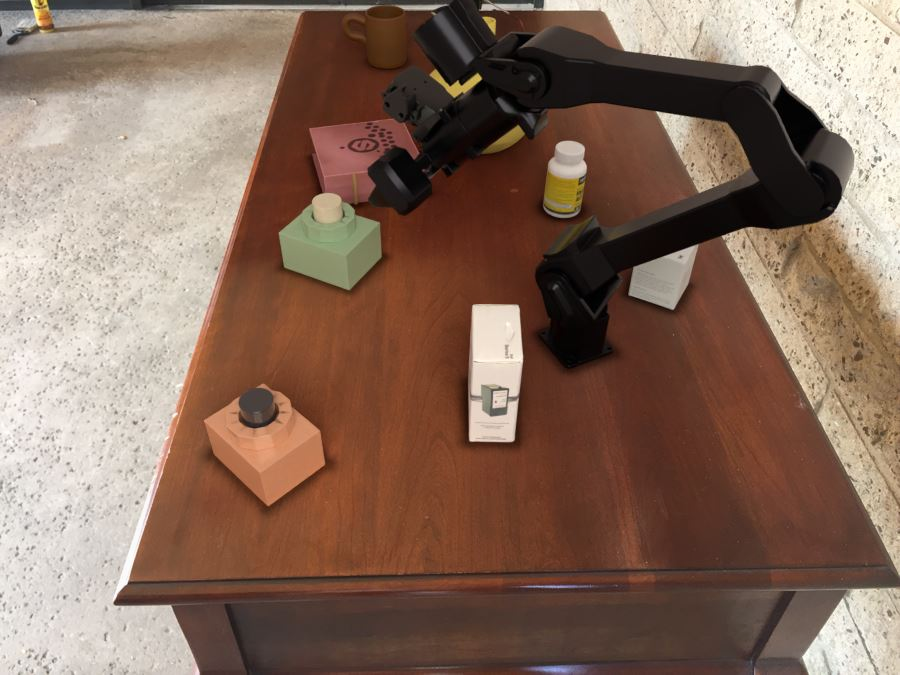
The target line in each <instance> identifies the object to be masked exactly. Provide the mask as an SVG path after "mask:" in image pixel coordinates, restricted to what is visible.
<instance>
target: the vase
mask: <svg viewBox="0 0 900 675" xmlns="http://www.w3.org/2000/svg"><path fill="white" fill-rule="evenodd" d="M482 18H483V19H484V20H485V22H486V23H487V25H488V26H489V27H490V29H491V30H492V32H493V33H494V35H495V36H496V28H497V27H496V26H497V20H496V18H494V17H491V16H482ZM429 75H430V76H431V77H432V78H434V79H435V80H436V81H438V82H439V83H440V84H441V85H443V86H444V87H445V89H446V91H447V92H449V93H450V94H451V95H452V96H453V97H454V98H455V97H456V96H457V95H459V94H460V93H461V92H463V93H465V92H467V91H468V90H469V89H470V88H472V87H473V86H474V85H475V84H476V83H478V82H479V81H480V80H481V79H482V78H481V77H480V75H479V74H477V75H475V76H474V77H473V78H472V79H470V80H469V81H468V82H466V83H465V84H464V85H462V86H461V85H460V84H459V81H457V82H456V83H455V84H453V85H452V86H451V87H450V86H449V85H448V83H446V82H445V81H444V79H443V78H442V77H441V75H440V74H439V73H438V71H437V70H436V69H435V68H434V70H433V71H431V73H429ZM524 136H526V135H525V133H524V132H523V131H522V129H521V128H520V126H519V125H518V126H517V127H515V128H514V129H512V130H511V131H510V132H508V133H507V134H505V135H504V136H503V137H501V138H500V139H498V140H497V141H496V142H494V143H493V144H492V145H490V146H489V147H488V148H487V149H485V150H484V151H483V152H482V153H481V154H480V155H490V154H495V153H500V152H502V151H505V150H506V149H508V148H510V147H512V146H513V145H515V144H517V143H518V142H519V141H520V140H521V139H522V138H523V137H524Z"/></svg>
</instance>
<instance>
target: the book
mask: <svg viewBox="0 0 900 675" xmlns="http://www.w3.org/2000/svg"><path fill="white" fill-rule="evenodd" d="M308 130H309V135H310V138H311V142H312V145H313V148H314V151H315V152H314V153H312V155H311V156H312V160H313V163H314V167H315V170H316V173H317V178H318V181H319V184H320V188H321V191H322V194H323V193H333V194H336V195H338V196H340V198H341V200H342V202H345V203H348V204H349V205H350V204H354V205H358V204H360V203H366V202H369V201H368V198H369V196H370V194H371V192H372V191H373V189H374V187H375V186H376V185H375V184H374V182H373V181H372V180H371V178H370V177H369V176H368V171H367V168H368V167H369V166H370V165H372V164H373V163H374V162H375V161H376V160H378V159H379V158H380V157H381V156H383V155H384V154H385V153H387V152H388V151H389V150H391V149H392V148H393V147H394V146H398V147H401V148H405V149H406V150H407V151H408V152H409V154H410V155H411V156H412V158H413V159H415V158H416V157H417V156H418V154H419V153H420V151H419V150H418V148H417V146H416V144H415V141H413V137H412V135H411V134H410V131H409V130H408V128H407V126H406V124H405V122H404V123H398V122H397V121H396V120H395V119H393V118H388V119H387V118H386V119H379V120H371V121H361V122H353V123H352V122H351V123H343V124H337V125H328V126H327V125H326V126H319V127H310V128H308ZM422 171H425V169H424V170H422Z"/></svg>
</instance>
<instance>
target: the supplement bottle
mask: <svg viewBox="0 0 900 675" xmlns="http://www.w3.org/2000/svg"><path fill="white" fill-rule="evenodd" d="M585 151H586V148H585V145H583V144H582V143H580V142H578V141H575V140H563V141H560V142H557V144H556V145H555V148H554V156H553V157H551V158H550V160H549V161H548V164H547V170H546V178H545V186H544V195H543V202H542V207H543V210H544V211H545V212H546V213H547V214H548V215H550V216H552V217H555V218H560V219H569V218H573V217H576V216H577V215H578V214H579V213H580V211H581V208H582V202H583V196H584V192H585V191H584V189H585V183H586V179H587V171H588V165H587V163H586V162H585V160H584V158H585Z"/></svg>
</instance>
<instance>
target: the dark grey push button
mask: <svg viewBox="0 0 900 675" xmlns="http://www.w3.org/2000/svg"><path fill="white" fill-rule="evenodd" d="M240 396H241V397H240ZM240 396H239V397H240V398H239V402H238V404H239V408H240V412H241V416H242V420H243V422H244V423H245V424H246V425H247V426H249V427H252V428H261V427H265V426H267V425H269V424H270V423H272V422H273V421H274V419H275V417H276V414H277V413H276V407H275V402H274V397H273V394H272V393H271V392H270V391H269V390H267V389H264V388H256V387H254V388H251V389H248V390H246V391H244V392H243V393H242V394H241V395H240Z"/></svg>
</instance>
